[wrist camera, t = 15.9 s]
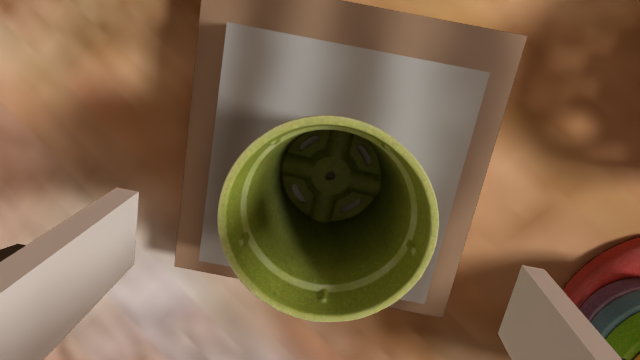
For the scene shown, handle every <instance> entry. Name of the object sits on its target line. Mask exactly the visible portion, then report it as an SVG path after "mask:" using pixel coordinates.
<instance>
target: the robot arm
mask: <svg viewBox="0 0 640 360" xmlns="http://www.w3.org/2000/svg"><path fill="white" fill-rule="evenodd" d="M138 198H139V192H138V191H133V190H128V189H122V188H117V187H116V188H115V189H113V190H112V191H110V192H109V193H107V194H105V195H104V196H102V197H101V198H99V199H98V200H96V201H95V202H93V203H91V204H90V205H88V206H87V207H85V208H84V209H82V210H81V211H79V212H77V213H76V214H74V215H73V216H71V217H70V218H68V219H67V220H65V221H63V222H62V223H60V224H59V225H57V226H56V227H54V228H53V229H51V230H49V231H48V232H46V233H45V234H43V235H42V236H40V237H39V238H37V239H35V240H34V241H32V242H31V243H29V244H28V245H21V244H16V245H13V246H10V247H7V248H4V249H1V250H0V360H44V359H45V358H46V357H47V356H48V355H49V354H50V352H51V351H52V350H53V349H54V348H55V347H56V346H57V345H58V344H59V343H60V342H61V341H62V340H63V339H64V338H65V337H66V336H67V334H68V333H69V332H70V331H71V330H72V329H73V328H74V327H75V326H76V325H77V324H78V323H79V322H80V321H81V320H82V319H83V318H84V317H85V315H86V314H87V313H88V312H89V311H90V310H91V309H92V308H93V307H94V306H95V305H96V304H97V303H98V302H99V301H100V300H101V299H102V297H103V296H104V295H105V294H106V293H107V292H108V291H109V290H110V289H111V288H112V287H113V286H114V285H115V284H116V283H117V282H118V281H119V279H120V278H121V277H122V276H123V275H124V274H125V273H126V272H127V271H128V270H129V269H130V268H131V267H132V266H133V265H134V258H135V243H136V228H137V213H138ZM498 335H499V337H500V339H501V341H502V343H503V345H504V347H505V349H506V350H507V352H508V354H509V356H510V358H511V360H626V359H625V358H621V357H620V356H619V355H618V354H617V353H616V352H615V351H614V349H613V348H612V347H611V346H610V345H609V344H608V342H607V341H606V340H605V339H604V338H603V337H602V335H601V334H600V333H599V332H598V331H597V330H596V329H595V327H594V326H593V325H592V324H591V323H590V322H589V320H588V319H587V318H586V317H585V316H584V315H583V313H582V312H581V311H580V310H579V309H578V308H577V306H576V305H575V304H574V303H573V302H572V301H571V300H570V298H569V297H568V296H567V295H566V294H565V293H564V291H563V290H562V289H561V288H560V287H559V286H558V284H557V283H556V282H555V281H554V280H553V279H552V278H551V276H550V275H549V274H548V273H547V272H546V271H545V269H540V268H535V267H530V266H525V265H522V266H521V269H520V272H519V275H518V278H517V281H516V283H515V286H514V289H513V292H512V295H511V298H510V300H509V303H508V306H507V309H506V312H505V315H504V317H503V320H502V323H501V326H500V329H499V332H498Z"/></svg>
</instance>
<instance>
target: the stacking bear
mask: <svg viewBox="0 0 640 360" xmlns="http://www.w3.org/2000/svg"><path fill="white" fill-rule="evenodd" d="M563 291H564V293H565V294H566V295H567V296H568V297H569V298H570V300H571V301H572V302H573V303H574V304H575V305H576V306H577V308H578V309H579V310H580V311H581V312H582V313H583V315H584V316H585V317H586V318H587V319H588V320H589V322H590V323H591V324H592V325H593V326H594V327H595V329H596V330H597V331H598V332H599V333H600V334H601V335H602V337H603V338H604V339H605V340H606V341H607V342H608V344H609V345H610V346H611V347H612V348H613V349H614V351H615V352H616V353H617V354H618V355H619V356H620V357H621V358H625V359H626V360H640V237H638V238H635V239H632V240H629V241H626V242H624V243H621V244H619V245H617V246H615V247H613V248H611V249H609V250H607V251H605V252H604V253H602V254H600V255H599V256H597V257H596V258H594V259H593V260H592V261H590V262H589V263H588V264H586V265H585V266H584V267H583V268H582V269H581V270H579V271H578V272H577V273H576V274H575V276H574V277H573V278H572V279H571V280H570V281H569V282H568V283H567V285H566V286H565V287H564V289H563Z"/></svg>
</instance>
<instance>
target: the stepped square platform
mask: <svg viewBox="0 0 640 360" xmlns="http://www.w3.org/2000/svg"><path fill="white" fill-rule="evenodd" d="M526 39H527V36H525V35H519V34H514V33H509V32H504V31H498V30H493V29H488V28H483V27H478V26H472V25H467V24H462V23H457V22H451V21H446V20H441V19H436V18H431V17H425V16H420V15H415V14H410V13H405V12H399V11H394V10H389V9H384V8H378V7H373V6H368V5H363V4H358V3H352V2H347V1H342V0H201V8H200V18H199V28H198V38H197V48H196V57H195V67H194V77H193V87H192V97H191V107H190V117H189V127H188V137H187V146H186V156H185V166H184V176H183V186H182V196H181V206H180V216H179V226H178V235H177V245H176V255H175V265H174V266H175V267H181V268H186V269H191V270H196V271H201V272H207V273H212V274H217V275H222V276H227V277H232V278H238V277H237V276H236V274H235V273H234V272H233V270H232V268H231V266H230V265H229V263H228V260H227V258H226V256H225V254H224V251H223V249H222V246H221V242H220V238H219V233H218V224H217V215H218V205H219V198H220V194H221V190H222V187H223V184H224V181H225V179H226V177H227V175H228V173H229V171H230V169H231V167H232V166H233V164H234V163H235V161H236V160H237V158H238V157H239V156H240V155H241V153H242V152H243V151H244V150H245V149H246V148H247V147H248V146H249V145H250V144H251V143H252V142H253V141H255V140H256V139H257V138H258V137H260V136H261V135H262V134H264V133H265V132H267V131H269V130H270V129H272V128H274V127H276V126H278V125H280V124H283V123H285V122H288V121H291V120H294V119H297V118H302V117H307V116H315V115H335V116H344V117H349V118H353V119H357V120H361V121H364V122H366V123H369V124H371V125H373V126H375V127H377V128H380V129H381V130H383V131H385V132H386V133H388V134H389V135H391V136H392V137H394V138H395V139H396V140H398V141H399V142H400V143H401V144H402V145H403V146H404V147H405V148H406V149H407V150H408V151H410V153H411V154H412V155H413V156H414V157H415V158H416V159H417V161H418V162H419V163H420V165H421V166H422V168H423V169H424V171H425V172H426V174H427V176H428V178H429V180H430V182H431V185H432V187H433V190H434V193H435V196H436V200H437V205H438V212H439V230H438V237H437V243H436V246H435V249H434V253H433V255H432V257H431V260H430V262H429V264H428V266H427V267H426V269H425V271H424V273H423V275H422V276H421V278H420V279H419V280H418V281H417V283H416V284H415V285H414V286H413V287H412V288H411V289H410V290H409V291H408V292H407V293H406V294H405V295H403V296H402V297H401V298H400V299H399V300H398V301H396V302H395V303H393V304H392V305H390V306H389V307H388V308H394V309H399V310H404V311H409V312H414V313H420V314H425V315H430V316H435V317H440V318H443V315H444V312H445V309H446V305H447V302H448V299H449V295H450V292H451V289H452V285H453V282H454V279H455V276H456V272H457V269H458V266H459V262H460V259H461V256H462V252H463V249H464V246H465V242H466V239H467V236H468V232H469V229H470V226H471V222H472V219H473V216H474V212H475V209H476V206H477V202H478V199H479V196H480V192H481V189H482V186H483V182H484V179H485V176H486V172H487V169H488V166H489V162H490V159H491V156H492V152H493V149H494V146H495V142H496V139H497V136H498V132H499V129H500V126H501V122H502V119H503V116H504V112H505V109H506V106H507V102H508V99H509V96H510V93H511V89H512V86H513V83H514V79H515V76H516V73H517V69H518V66H519V63H520V59H521V56H522V53H523V49H524V46H525V43H526ZM319 139H320V138H319V137H318V136H313V137H311V138H309V139H308V140H307V141H305V142H304V143H303V144H301V146H300V147H301V148H300V150H303V149H305V148H306V147H307V146H309V145H310V144H312V143H314V142H315V141H318V140H319ZM357 150H358V151H359V152H360V153H361V154H362V156H363V158H364V160H365V163H366V165H370V163H371V160H370V157H369V155H368V154H367V152H366V150H365V148H364V147H362V146H361V145H357ZM326 177H327V179H329V180H332V179H334V178H335V174H334V173H333V172H329V173H327V175H326ZM292 190H293V192H294V194H295V195H296V197H297V198H298V199H300V200H301V201H302V202H305V203H306V200H305V199H304V197H303V196H302V194H301V193H300V191H299V189H298V187H297V185H296V184H293V185H292ZM360 200H361V199H356V200H355V201H354V202H352V203H351V204H349V205H346V206H345V207H342V208H341V211H343V212H346V211H349V210H351V209H352V208H353V207H355V206H356V205H358V204H360ZM238 279H239V278H238Z"/></svg>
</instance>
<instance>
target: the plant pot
mask: <svg viewBox="0 0 640 360" xmlns="http://www.w3.org/2000/svg"><path fill="white" fill-rule="evenodd" d="M313 136H318V137H319V138H320V139H319V140H318V141H315V142H314V143H312V144H310V145H309V146H307V147H306V148H305V149H303V150H300V148H301V147H300V146H301V144H303V143H304V142H305V141H307V140H308V139H309V138H311V137H313ZM357 145H361V146H362V147H364V148H365V150H366V152H367V154H368V155H369V157H370V160H371V163H370V165H366V163H365V160H364V158H363V156H362V154H361V153H360V152H359V151H358V150H357ZM329 172H333V173H334V174H335V178H334V179H332V180H329V179H327V177H326V175H327V173H329ZM293 184H296V185H297V187H298V189H299V191H300V193H301V194H302V196H303V197H304V199H305V200H306V203H305V202H302V201H301V200H300V199H298V198H297V197H296V195H295V194H294V192H293V190H292V185H293ZM356 199H361V200H360V204H358V205H356V206H355V207H353V208H352V209H351V210H349V211H346V212H343V211H341V208H342V207H345V206H346V205H349V204H351V203H352V202H354V201H355V200H356ZM217 224H218V233H219V238H220V242H221V246H222V249H223V251H224V254H225V256H226V258H227V260H228V263H229V265H230V266H231V268H232V270H233V272H234V273H235V274H236V276H237V277H238V278H239V279H240V281H241V282H242V283H243V284H244V285H245V286H246V287H247V288H248V289H249V291H251V292H252V293H253V294H254V295H255V296H256V297H257V298H259V299H260V300H262V301H263V302H265V303H267V304H268V305H270V306H271V307H273V308H275V309H277V310H278V311H280V312H283V313H285V314H287V315H291V316H293V317H296V318H300V319H304V320H309V321H314V322H341V321H350V320H356V319H360V318H364V317H367V316H370V315H372V314H374V313H377V312H379V311H380V310H382V309H384V308H387V307H389V306H390V305H392V304H393V303H395V302H396V301H398V300H399V299H400V298H401V297H402V296H403V295H405V294H406V293H407V292H408V291H409V290H410V289H411V288H412V287H413V286H414V285H415V284H416V283H417V281H418V280H419V279H420V278H421V276H422V275H423V273H424V271H425V269H426V267H427V266H428V264H429V262H430V260H431V257H432V255H433V253H434V249H435V246H436V243H437V237H438V230H439V212H438V205H437V200H436V196H435V193H434V190H433V187H432V185H431V182H430V180H429V178H428V176H427V174H426V172H425V171H424V169H423V168H422V166H421V165H420V163H419V162H418V161H417V159H416V158H415V157H414V156H413V155H412V154H411V153H410V151H408V150H407V149H406V148H405V147H404V146H403V145H402V144H401V143H400V142H399V141H398V140H396V139H395V138H394V137H392V136H391V135H389V134H388V133H386V132H385V131H383V130H381V129H380V128H377V127H375V126H373V125H371V124H369V123H366V122H364V121H361V120H357V119H353V118H349V117H344V116H335V115H315V116H307V117H302V118H297V119H294V120H291V121H288V122H285V123H283V124H280V125H278V126H276V127H274V128H272V129H270V130H269V131H267V132H265V133H264V134H262V135H261V136H260V137H258V138H257V139H256V140H255V141H253V142H252V143H251V144H250V145H249V146H248V147H247V148H246V149H245V150H244V151H243V152H242V153H241V155H240V156H239V157H238V158H237V160H236V161H235V163H234V164H233V166H232V167H231V169H230V171H229V173H228V175H227V177H226V179H225V181H224V184H223V187H222V190H221V194H220V198H219V205H218V215H217Z"/></svg>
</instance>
